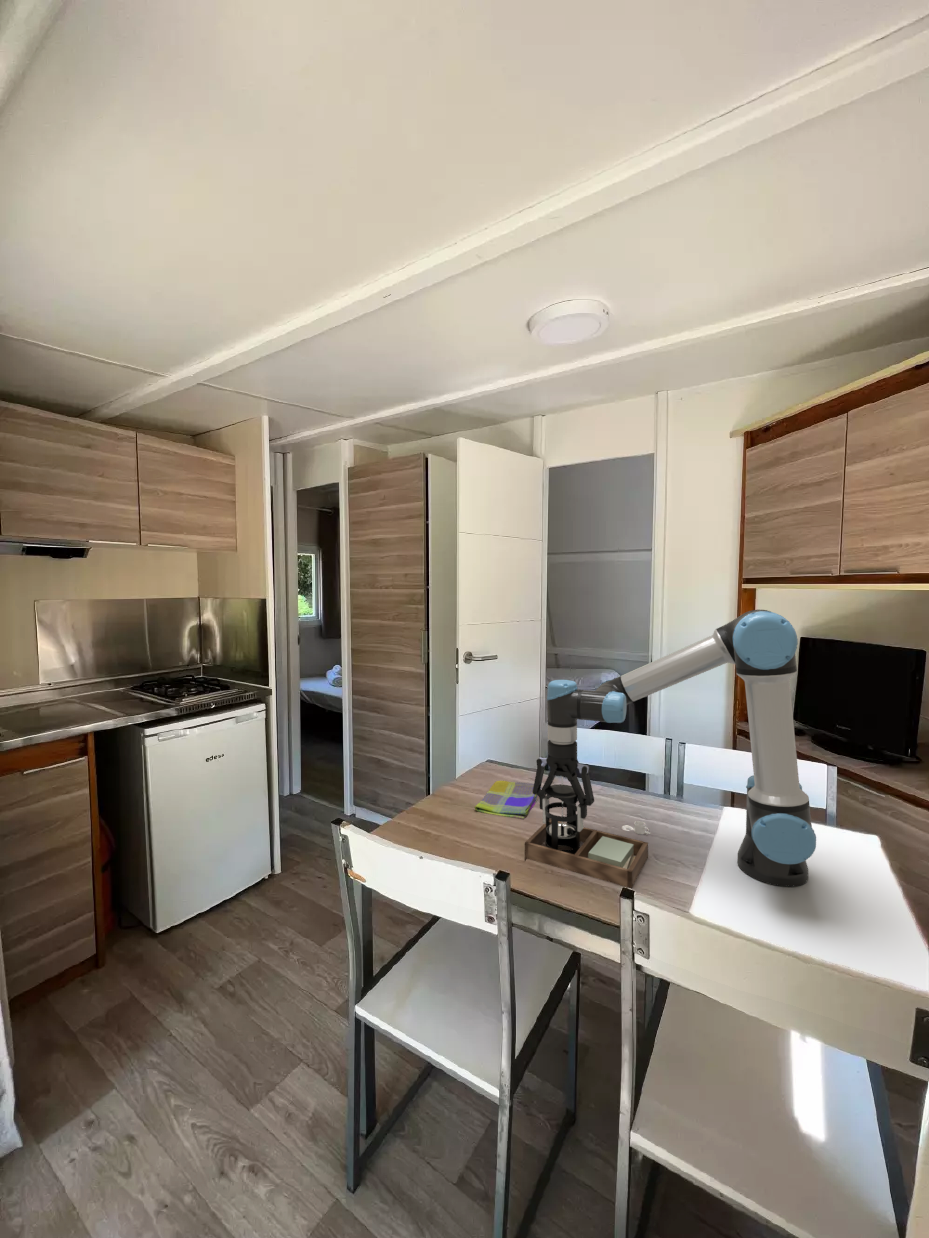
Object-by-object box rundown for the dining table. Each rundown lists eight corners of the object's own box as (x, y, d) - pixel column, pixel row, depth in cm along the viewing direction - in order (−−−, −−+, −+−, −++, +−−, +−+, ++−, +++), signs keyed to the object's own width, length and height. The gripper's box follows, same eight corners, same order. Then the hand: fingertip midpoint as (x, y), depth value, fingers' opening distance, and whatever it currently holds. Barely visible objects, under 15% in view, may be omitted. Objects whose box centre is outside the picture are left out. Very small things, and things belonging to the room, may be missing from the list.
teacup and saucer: (617, 832, 152) (617, 818, 152) (640, 828, 154) (640, 814, 154) (636, 846, 143) (636, 832, 143) (660, 841, 146) (660, 827, 146)
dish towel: (471, 813, 166) (471, 804, 166) (495, 785, 189) (495, 777, 188) (525, 821, 160) (525, 812, 159) (543, 791, 182) (543, 783, 182)
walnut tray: (647, 861, 135) (648, 842, 135) (631, 893, 121) (631, 872, 121) (549, 835, 149) (549, 818, 149) (524, 861, 136) (524, 842, 135)
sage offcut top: (633, 852, 133) (633, 844, 133) (620, 870, 125) (620, 862, 125) (602, 843, 138) (602, 835, 138) (588, 860, 130) (588, 852, 130)
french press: (570, 868, 131) (569, 777, 129) (536, 857, 137) (536, 770, 135) (589, 849, 140) (589, 764, 139) (557, 839, 146) (557, 757, 144)
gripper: (607, 742, 134) (608, 828, 136) (530, 731, 145) (531, 811, 147) (598, 750, 128) (598, 841, 129) (518, 738, 139) (519, 821, 141)
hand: (562, 825), depth 138 cm, fingers closed on french press, 9 cm apart
